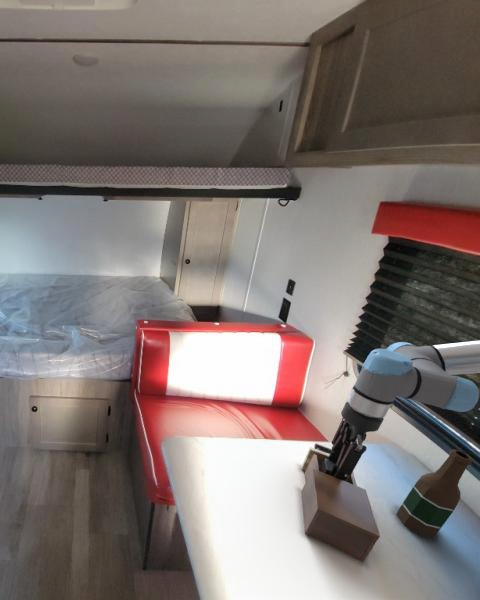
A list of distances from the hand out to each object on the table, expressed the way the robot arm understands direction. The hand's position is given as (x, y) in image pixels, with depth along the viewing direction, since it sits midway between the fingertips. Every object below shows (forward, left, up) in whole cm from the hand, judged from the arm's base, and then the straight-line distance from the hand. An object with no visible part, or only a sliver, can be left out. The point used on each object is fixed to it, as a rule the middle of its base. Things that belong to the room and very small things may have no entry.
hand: (330, 478), depth 90 cm
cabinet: (0, +11, -5) cm, 12 cm away
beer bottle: (-20, -2, -5) cm, 21 cm away
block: (0, 0, 0) cm, 0 cm away
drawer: (0, -2, -4) cm, 5 cm away
